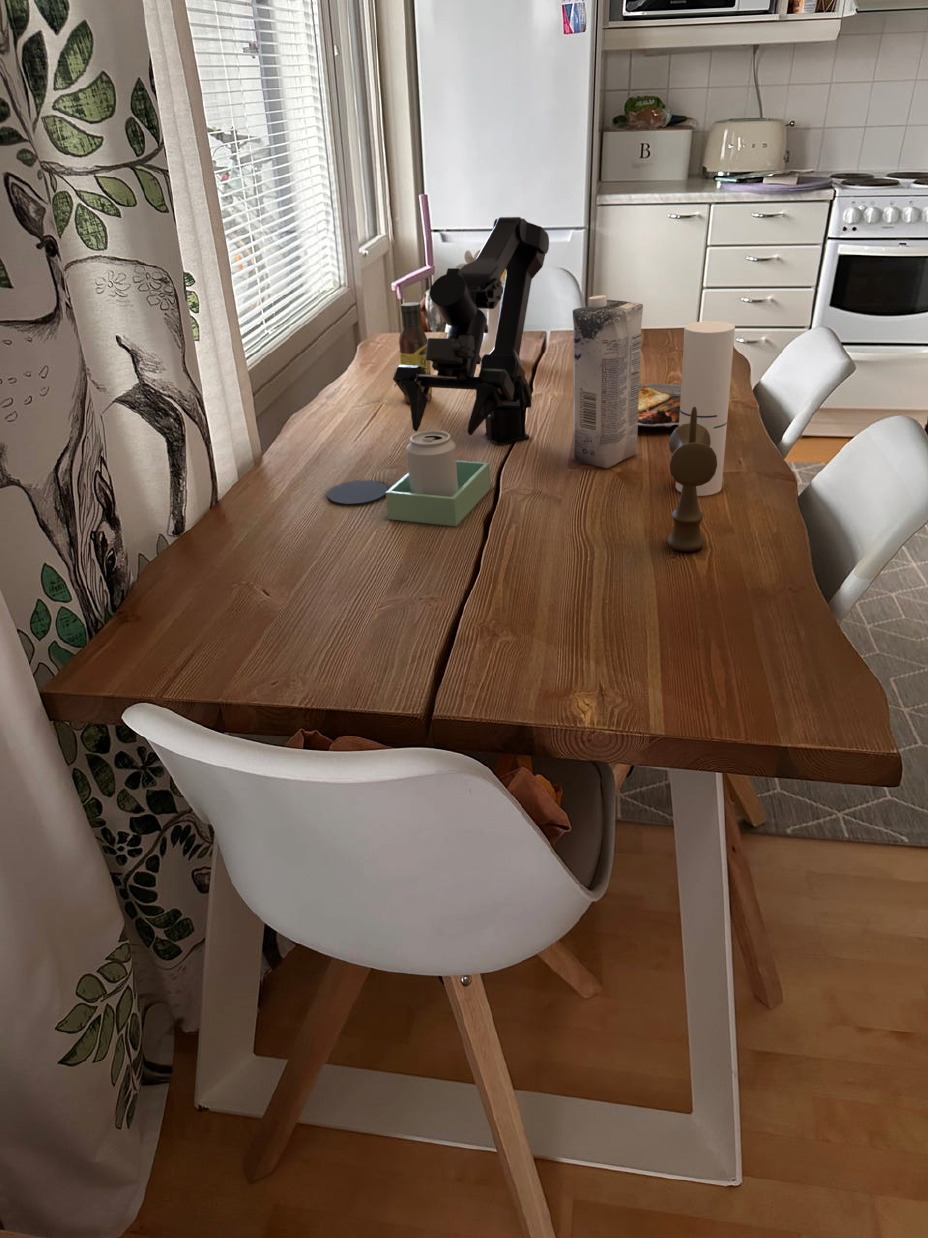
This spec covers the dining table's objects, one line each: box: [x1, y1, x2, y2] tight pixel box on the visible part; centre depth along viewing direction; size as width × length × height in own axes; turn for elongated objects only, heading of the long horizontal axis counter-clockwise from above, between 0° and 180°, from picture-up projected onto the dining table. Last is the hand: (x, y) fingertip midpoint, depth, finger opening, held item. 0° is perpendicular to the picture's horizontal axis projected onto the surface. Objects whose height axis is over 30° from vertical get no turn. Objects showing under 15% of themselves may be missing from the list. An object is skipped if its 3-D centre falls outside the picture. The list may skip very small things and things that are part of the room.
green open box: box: [385, 459, 492, 527], centre depth 147 cm, size 15×11×4 cm
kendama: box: [667, 406, 717, 552], centre depth 124 cm, size 6×10×20 cm, turn 171°
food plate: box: [638, 383, 681, 430], centre depth 179 cm, size 25×23×4 cm
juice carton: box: [572, 294, 644, 469], centre depth 154 cm, size 9×10×27 cm
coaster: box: [326, 480, 389, 507], centre depth 154 cm, size 10×10×1 cm
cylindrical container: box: [675, 320, 736, 497], centre depth 141 cm, size 7×7×25 cm
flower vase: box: [455, 249, 506, 358], centre depth 216 cm, size 13×18×25 cm
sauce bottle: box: [398, 301, 433, 404], centre depth 193 cm, size 6×6×20 cm
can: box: [406, 429, 458, 497], centre depth 143 cm, size 8×8×12 cm
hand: (441, 432), depth 144 cm, fingers open, 9 cm apart
